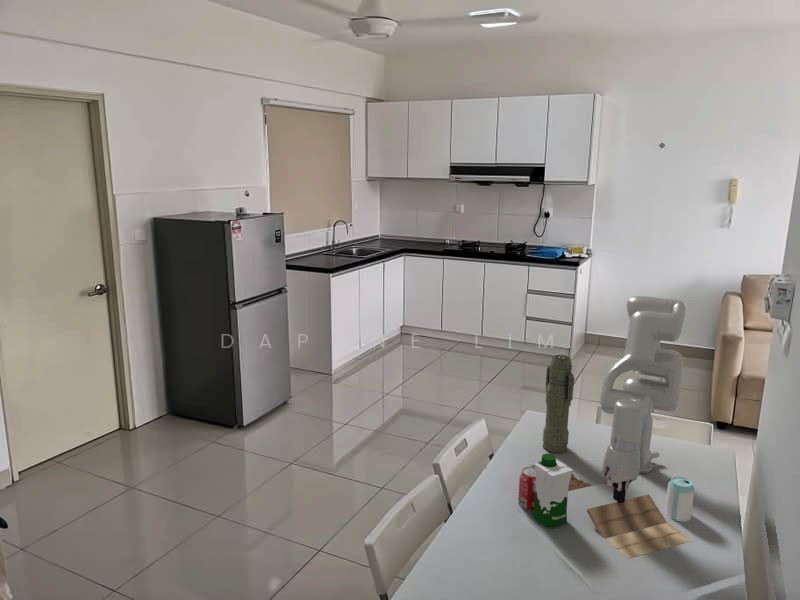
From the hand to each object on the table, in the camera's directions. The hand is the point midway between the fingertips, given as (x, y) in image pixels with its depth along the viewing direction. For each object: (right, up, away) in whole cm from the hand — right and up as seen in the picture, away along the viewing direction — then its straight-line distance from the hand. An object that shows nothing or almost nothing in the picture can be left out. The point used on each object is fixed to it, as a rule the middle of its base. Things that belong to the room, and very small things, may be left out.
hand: (618, 500), depth 178 cm
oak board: (+5, -9, -10) cm, 14 cm away
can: (+18, -6, +2) cm, 19 cm away
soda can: (-25, -5, +7) cm, 26 cm away
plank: (+1, -4, -2) cm, 5 cm away
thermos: (-7, +4, +45) cm, 46 cm away
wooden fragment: (-10, -1, +23) cm, 25 cm away
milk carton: (-20, -6, -1) cm, 21 cm away
